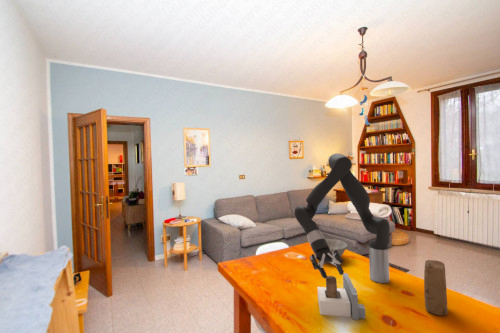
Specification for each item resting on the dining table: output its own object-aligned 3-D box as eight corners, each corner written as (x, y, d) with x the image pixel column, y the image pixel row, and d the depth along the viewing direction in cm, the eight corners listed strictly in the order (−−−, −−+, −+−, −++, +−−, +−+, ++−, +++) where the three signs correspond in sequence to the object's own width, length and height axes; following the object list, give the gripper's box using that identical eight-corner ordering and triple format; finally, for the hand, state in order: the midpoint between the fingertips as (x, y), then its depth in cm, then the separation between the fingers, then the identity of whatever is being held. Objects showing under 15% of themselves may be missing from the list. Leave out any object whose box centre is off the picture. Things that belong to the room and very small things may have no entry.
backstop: (343, 293, 117) (342, 273, 117) (354, 294, 116) (353, 273, 116) (352, 319, 97) (352, 294, 97) (366, 320, 96) (365, 295, 96)
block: (447, 319, 95) (446, 268, 95) (424, 312, 100) (422, 264, 100) (447, 306, 104) (445, 260, 104) (425, 301, 109) (424, 256, 109)
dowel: (326, 302, 109) (324, 275, 108) (336, 302, 108) (335, 275, 108) (328, 308, 104) (326, 280, 104) (339, 308, 104) (337, 280, 104)
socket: (318, 299, 113) (317, 286, 113) (345, 301, 111) (344, 288, 111) (320, 315, 101) (320, 300, 101) (350, 317, 99) (350, 303, 99)
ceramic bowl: (342, 252, 172) (341, 238, 172) (352, 265, 149) (352, 249, 149) (310, 252, 174) (309, 238, 174) (315, 265, 151) (315, 249, 152)
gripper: (307, 239, 111) (323, 275, 100) (333, 236, 116) (351, 269, 105) (301, 247, 116) (316, 282, 105) (326, 244, 121) (343, 276, 110)
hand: (334, 275), depth 105 cm, fingers open, 8 cm apart
